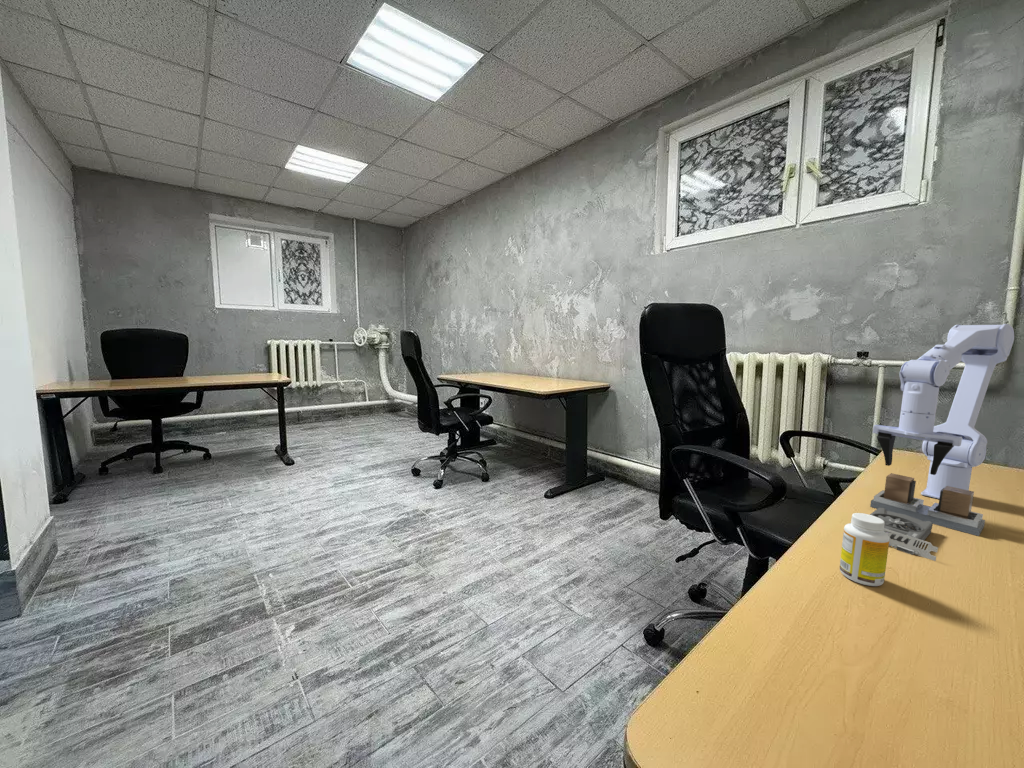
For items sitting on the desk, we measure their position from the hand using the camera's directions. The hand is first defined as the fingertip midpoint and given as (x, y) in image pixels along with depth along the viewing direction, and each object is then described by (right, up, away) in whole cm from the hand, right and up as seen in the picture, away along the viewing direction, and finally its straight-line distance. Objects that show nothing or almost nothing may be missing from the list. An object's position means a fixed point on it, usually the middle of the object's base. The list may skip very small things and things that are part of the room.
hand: (910, 469), depth 95 cm
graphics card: (-15, -11, -14) cm, 24 cm away
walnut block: (-3, -8, 0) cm, 8 cm away
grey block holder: (-1, -10, -4) cm, 10 cm away
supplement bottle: (-36, -12, -29) cm, 48 cm away
